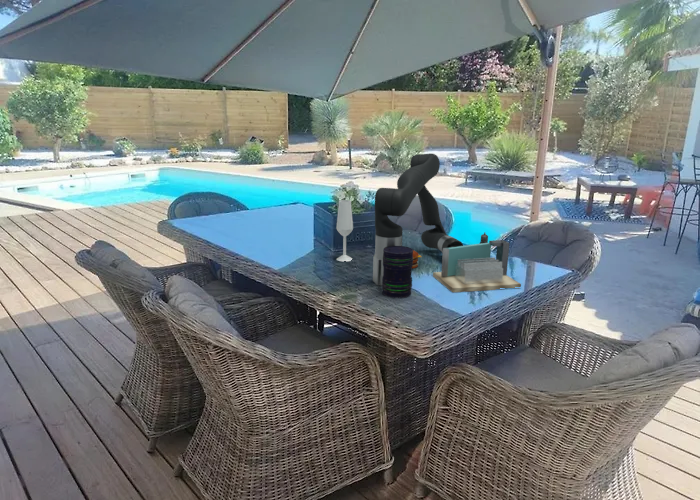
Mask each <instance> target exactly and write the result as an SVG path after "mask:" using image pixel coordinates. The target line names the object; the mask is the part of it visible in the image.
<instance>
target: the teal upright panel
mask: <svg viewBox="0 0 700 500" xmlns="http://www.w3.org/2000/svg"><path fill="white" fill-rule="evenodd" d="M491 252H492V245H490V244H489V242H488V243H482V244H480V243H475V244H469V245H468V244H466V245H463V246H459V247H451V248H443V253H442V254H441V255H442V259H441V271H440V272H441V276H442V277H447V276H453V275H455V269H456V264H457V259H473V258H491V254H490V253H491Z"/></svg>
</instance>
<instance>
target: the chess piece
mask: <svg viewBox="0 0 700 500" xmlns="http://www.w3.org/2000/svg"><path fill="white" fill-rule="evenodd" d="M482 243H489V235H487V233H486V232H484V233H483V234H481V235H480V242H479V244H482ZM490 255H491V253H490Z"/></svg>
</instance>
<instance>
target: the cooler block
mask: <svg viewBox="0 0 700 500" xmlns="http://www.w3.org/2000/svg"><path fill="white" fill-rule="evenodd" d="M488 243H489V244H490V245H491V247H493V248H494V247H496V252H495V253H496V255H495V256H494V257H490V258H473V259H457V264H456V269H455V278H456V279H458V280H459V281H460V282H462V283H463V284H481V283H497V282H502V278H503V275H507V274H508V263H509V251H510V242H508V241H506V240H504V239H501V240H500V239H498V240H496V239H495V240H488ZM507 276H508V275H507Z"/></svg>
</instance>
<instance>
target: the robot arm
mask: <svg viewBox="0 0 700 500" xmlns="http://www.w3.org/2000/svg"><path fill="white" fill-rule="evenodd" d="M440 161H441V160H440V159H439V157H438V155H437V154H435V153H422V154H415V155H412V156H411V159H410V163H409V164H410V167H409V168H407V169H405V170H404V171H403V172H402V173H401V174H400V176H399V177H398V179H397V182H396V187H397V188H396V187H395V188H392V187H379V188H378V189H377V191H376V192H375V194H374V195H375V196H374V229H375V242H374V243H375V244H374V245H375V247H374V250H375V251H374V254H373V258H372V259H373V260H372V281H373V282H374V284H375V285H376V286H379V287H380V286H381V287H382V277H383V271H384V266H383V253H384V252H383V249H384V248H385V247H388V246H403V232H404V231H403V227H402V226H401V225H400V224H397V223H396V222H394V221H392V220H391V218H389V216H391V217H401V216H403V215H405V214H406V213H407V211H408V210H409V208H410V205H411V204H412V203H413V200H414V199H415V198H416V196H418V200H419V204H420V208H421V209H420V210H421V215H422V216H421V217H422V222H423V224H424V225H425V226H427V227H428V226H429V227H431V226H434V228H431V229H426V230H424V231H423V232H422V234H421V237H420V238H421V242H422V244H423V245H424V246H425V247H427V248H429V249H435V250H439V252H441V253H442V254H443V248H451V247H459V246H464V244H463V242H462V241H460V240H458V239H457V238H455V237H454V236H451V235H448V234H447V233H446V230H445V229H444V226H443V224H442V221H441V218H440V217H441V216H440V211H439V205H438V202H437V200H436V199H435V197H434V196H433V194H432V193H431V192H430V191H429V190H428V188H427V187H426V184H427V183H429V181H431V180H432V179H434V178H435V176H437V175H438V173H439V171H440V163H441V162H440Z"/></svg>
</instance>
